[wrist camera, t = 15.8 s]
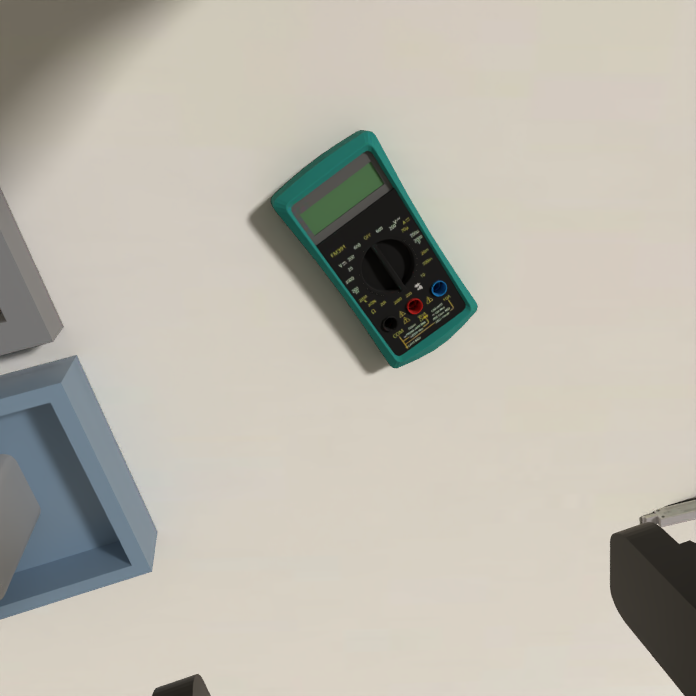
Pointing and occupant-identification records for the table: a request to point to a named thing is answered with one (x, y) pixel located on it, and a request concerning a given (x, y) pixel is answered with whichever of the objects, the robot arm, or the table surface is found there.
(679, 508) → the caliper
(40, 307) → the adapter holder
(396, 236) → the digital multimeter
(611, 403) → the table surface
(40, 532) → the parts tray
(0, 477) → the power adapter
